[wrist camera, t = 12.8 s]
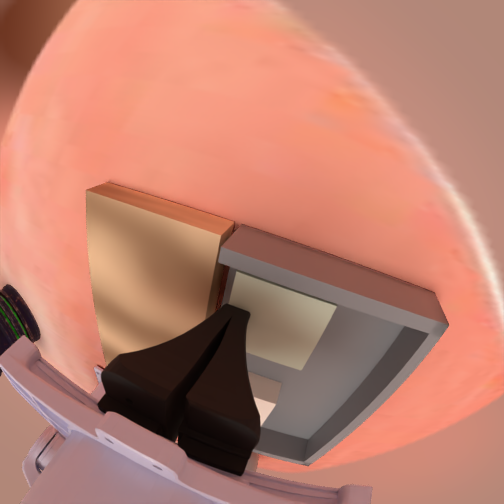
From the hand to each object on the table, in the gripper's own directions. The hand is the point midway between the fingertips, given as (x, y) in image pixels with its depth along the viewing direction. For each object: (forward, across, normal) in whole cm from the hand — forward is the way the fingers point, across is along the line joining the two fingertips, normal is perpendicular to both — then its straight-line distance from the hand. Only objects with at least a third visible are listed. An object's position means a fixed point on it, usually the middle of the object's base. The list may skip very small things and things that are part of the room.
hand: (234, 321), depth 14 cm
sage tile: (+2, -2, 0) cm, 3 cm away
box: (+3, -4, +6) cm, 8 cm away
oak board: (+3, +6, +6) cm, 9 cm away
